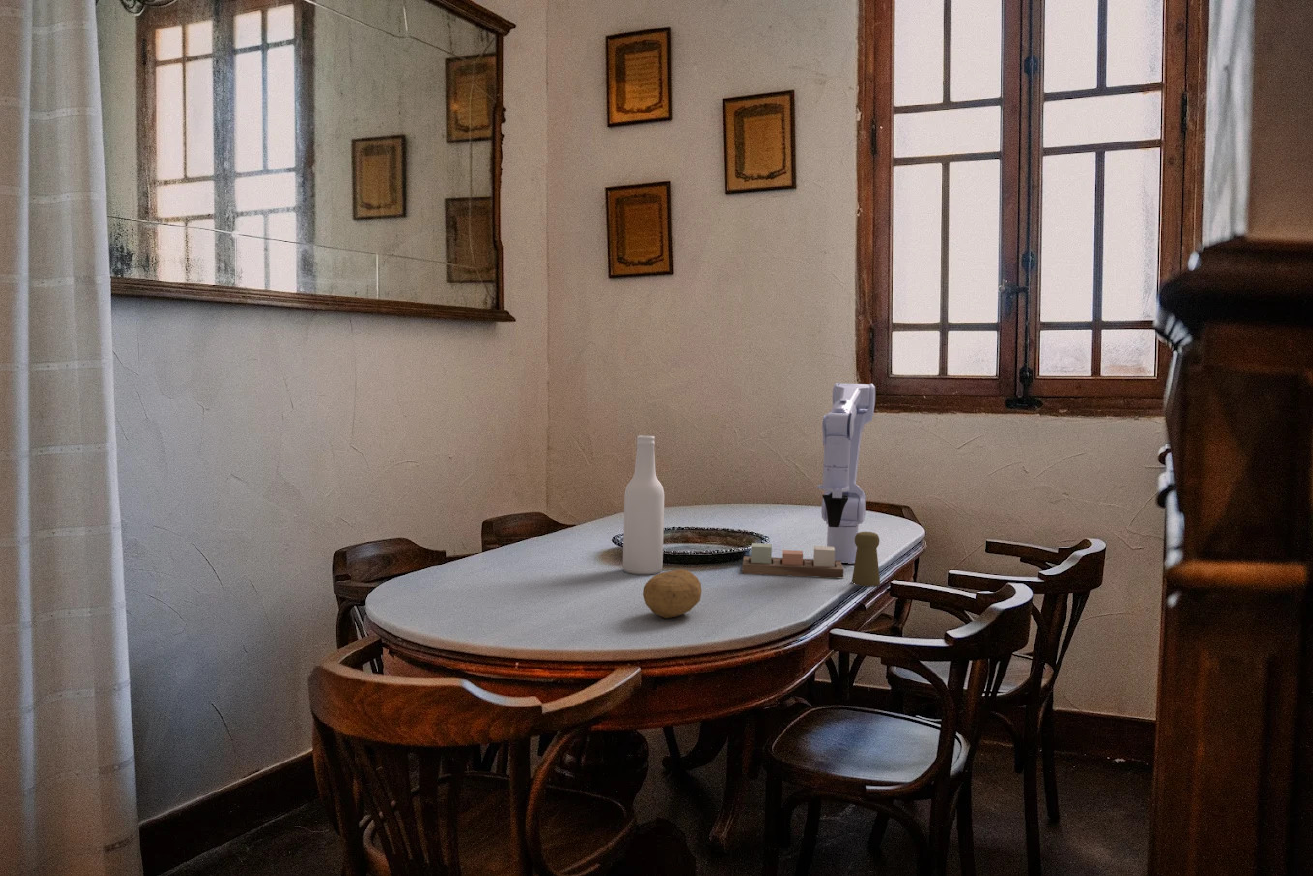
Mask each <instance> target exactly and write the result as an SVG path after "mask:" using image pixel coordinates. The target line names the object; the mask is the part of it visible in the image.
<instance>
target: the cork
mask: <svg viewBox="0 0 1313 876" xmlns="http://www.w3.org/2000/svg"><path fill="white" fill-rule="evenodd" d="M879 537H880V536H879V535H878V534H877V533H875V532H872V531H860V532H859V531H858V533H857V534H856V536H855V544H856V546H857V552H856V558H855V564H853V572H852V579H851V583H852V582H853V583H855V584H854V585H856V586H861V587H877V586H879V585H881V578H880V569H879V567H880V566H879V561H878V559H879V558H878V550H877V549H878V547H879V545H880V538H879ZM853 583H852V584H853Z"/></svg>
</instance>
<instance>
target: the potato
mask: <svg viewBox="0 0 1313 876" xmlns="http://www.w3.org/2000/svg"><path fill="white" fill-rule="evenodd" d="M642 596H643V601H644V603H645V604H646V606H647V607H648V608H649V609H650V611H651V612H652V613H653V614H654V615H655V614H656V615H658V616H660V617H662V618H664V619H672V617H673V618H676V617H678V616H680V615H683V614H686V613H688V612H690V611H691V610H693V609H694V607H695V606H696V605H697V604H698V603H699V602H700V601H701V596H702V585H701V582H700V580H699V577H697V576H696V575H695V574H694V573H692V572H691V571H689V570H687V569H683V568H682V569H680V568H679V569H674V570H669V571H665V572H664V571H663V572H659V573H657V574H654V576H652V577H651V578H650V579H649V580H648V581H647V582H646V583H645V585H644V587H643V592H642Z"/></svg>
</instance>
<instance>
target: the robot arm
mask: <svg viewBox="0 0 1313 876" xmlns="http://www.w3.org/2000/svg"><path fill="white" fill-rule="evenodd" d="M832 389H833V390H832V406H831V409H830V412H827V414H824V415H823V418H822V424H821V425H822V426H821V431H822V446H824V449H823V467H822V468H823V469H822V470H823V471H822V484H817V485H816V486H817V487H816V488H817V489H819V490H820V489H821V490H824V494H822V495H821V497H822V502H821V518H822V520H823V521H824V522H826V523H825V524H826V525H827V532H826V533H827V534H826V536H827V537H826V547H834V548H835V560H837V561H841V563H848V564H847V565H854V564H855V558H856V552H857V546H856V544H855V536H856V534H857V533H859V526H860V525H862V524H863V523H864V522H865V519H866V511H867V509H866V506H867V504H866V502H867V497H866V493H865V491H864V489H862V488H861V487H860V486H859V485H857V479H858V478H857V476H858V471H859V470H858V469H859V461H860V460H859V459H860V451H861V442H862V435H863V431H864V428H865V425H867V424H868V423H871V421H873V417H874V412H875V403H876V386H875V385H874V384H873V383H869V384H866V383H840V382H836V383H835V384H834V385H833V388H832Z"/></svg>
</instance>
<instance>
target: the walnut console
mask: <svg viewBox="0 0 1313 876" xmlns="http://www.w3.org/2000/svg"><path fill="white" fill-rule="evenodd" d="M742 574H746V575H747V574H750V575H768V576H770V575H772V576H787V575H791V576H793V577H807V576H819V577H818V578H828V577H843V578H844V567H843V565H842V564H841V561H837V560H835V567H827V566H814V564H813V558H811V559H810V558H803V565H785V564H782V557H772V556H771V564H764V563H751V556H749V555H748V556H747V555H744V556H743V562H742Z"/></svg>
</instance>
